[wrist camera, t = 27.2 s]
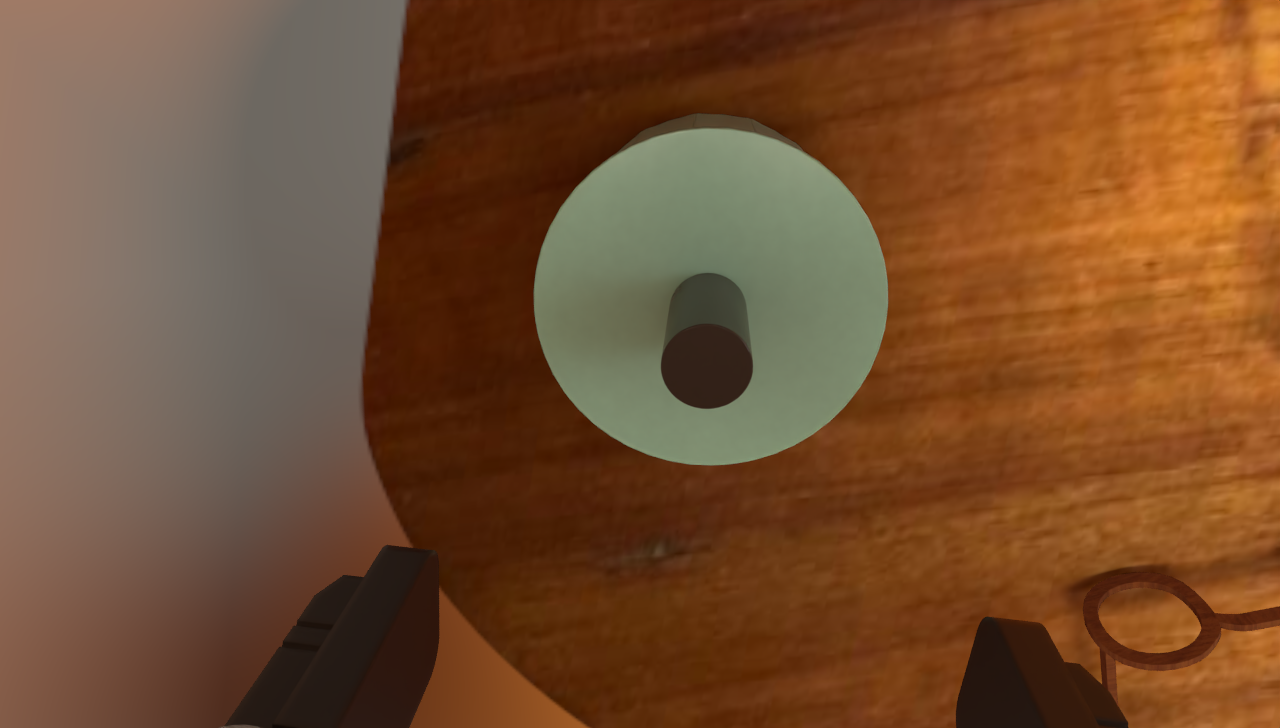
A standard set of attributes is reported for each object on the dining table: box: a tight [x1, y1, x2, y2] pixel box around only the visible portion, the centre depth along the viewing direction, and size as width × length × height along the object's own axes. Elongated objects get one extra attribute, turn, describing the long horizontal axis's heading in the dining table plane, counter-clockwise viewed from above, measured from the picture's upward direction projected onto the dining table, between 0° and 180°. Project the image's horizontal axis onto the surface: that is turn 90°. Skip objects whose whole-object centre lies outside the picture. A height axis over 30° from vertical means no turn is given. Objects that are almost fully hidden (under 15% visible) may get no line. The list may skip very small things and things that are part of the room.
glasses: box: [1083, 572, 1280, 705], centre depth 37 cm, size 13×13×5 cm
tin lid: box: [534, 126, 888, 465], centre depth 25 cm, size 11×11×6 cm
